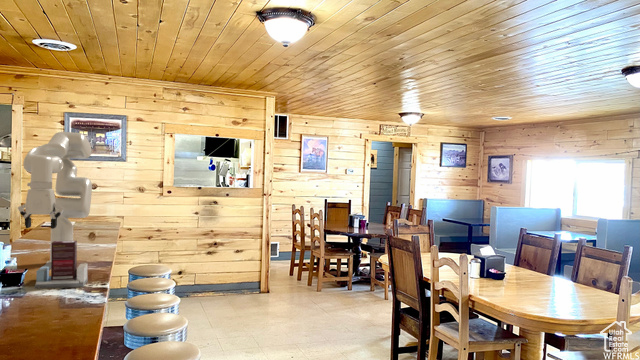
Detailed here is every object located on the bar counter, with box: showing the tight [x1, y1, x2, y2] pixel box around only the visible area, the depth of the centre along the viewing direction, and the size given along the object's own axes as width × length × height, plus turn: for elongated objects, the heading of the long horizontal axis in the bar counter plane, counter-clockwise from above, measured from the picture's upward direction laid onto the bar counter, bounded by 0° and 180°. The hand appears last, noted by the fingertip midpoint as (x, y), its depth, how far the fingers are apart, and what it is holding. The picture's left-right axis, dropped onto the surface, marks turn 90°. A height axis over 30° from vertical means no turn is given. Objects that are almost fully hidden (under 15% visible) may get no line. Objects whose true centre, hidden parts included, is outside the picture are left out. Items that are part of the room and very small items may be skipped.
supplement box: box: [50, 240, 78, 281], centre depth 192 cm, size 9×5×16 cm, turn 107°
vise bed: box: [34, 263, 89, 289], centre depth 191 cm, size 10×17×8 cm, turn 107°
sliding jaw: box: [35, 262, 51, 283], centre depth 193 cm, size 16×2×5 cm, turn 17°
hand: (40, 227), depth 195 cm, fingers open, 9 cm apart
